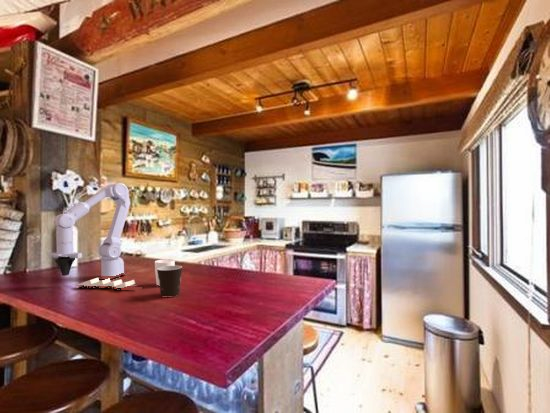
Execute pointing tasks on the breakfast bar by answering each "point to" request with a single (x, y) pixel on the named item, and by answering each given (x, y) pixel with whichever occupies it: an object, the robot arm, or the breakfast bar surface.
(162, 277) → the coffee mug
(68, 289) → the breakfast bar surface
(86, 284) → the domino
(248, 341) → the breakfast bar surface
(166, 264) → the white cup
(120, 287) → the domino
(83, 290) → the breakfast bar surface
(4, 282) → the breakfast bar surface
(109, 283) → the domino
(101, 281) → the domino
